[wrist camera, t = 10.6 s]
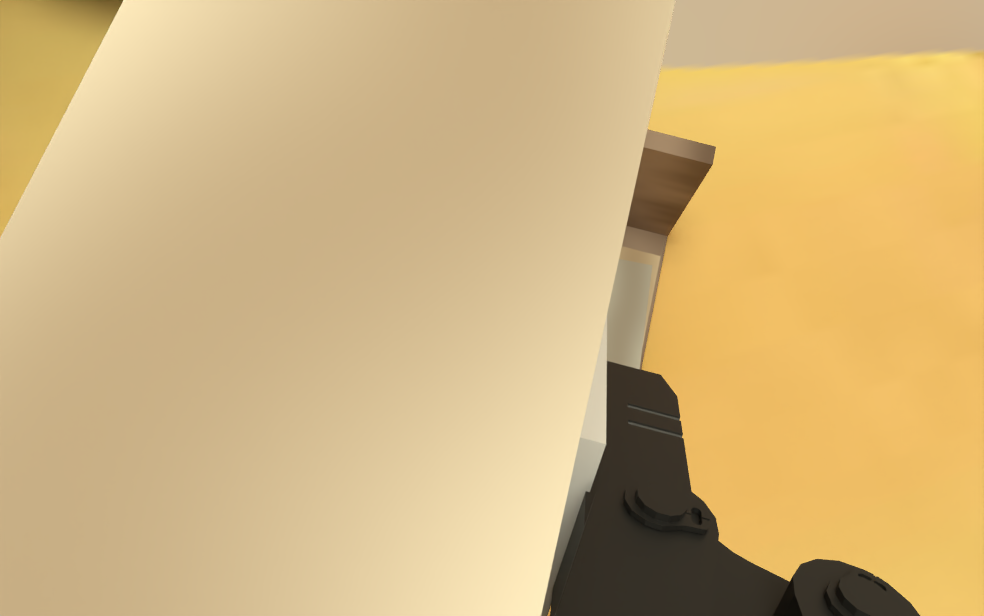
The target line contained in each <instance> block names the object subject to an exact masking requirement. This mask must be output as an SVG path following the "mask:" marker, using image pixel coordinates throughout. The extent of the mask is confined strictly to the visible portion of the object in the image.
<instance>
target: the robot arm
mask: <svg viewBox="0 0 984 616" xmlns="http://www.w3.org/2000/svg"><path fill="white" fill-rule="evenodd" d="M679 419H680V413H679V406H678V399H677V396H676V394H675V393H674V392H673V390H672V389H671V388H670V387H669V385H668V384H667V383H666V381H665V380H664V379H663V377H662V376H661V375H659V374H655V373H652V372H648V371H644V370H640V369H636V368H633V367H629V366H625V365H621V364H617V363H614V362H610V361H607V316H606V321H605V325H604V330H603V335H602V339H601V344H600V348H599V353H598V357H597V362H596V367H595V371H594V376H593V380H592V385H591V389H590V394H589V399H588V403H587V408H586V412H585V417H584V421H583V426H582V431H581V435H580V440H579V444H578V449H577V453H576V458H575V463H574V467H573V472H572V476H571V481H570V485H569V490H568V495H567V499H566V504H565V508H564V513H563V517H562V522H561V527H560V531H559V536H558V540H557V545H556V549H555V554H554V559H553V563H552V568H551V572H550V577H549V581H548V586H547V591H546V595H545V600H544V604H543V609H542V613H541V616H547V615H548V612H549V609H550V606H551V613H550V616H920V615H919V614H918V612H917V611H916V610H915V608H914V607H913V606H912V604H911V603H910V602H909V601H908V600H906V599H905V598H904V597H903V596H902V595H901V594H900V593H898V592H897V591H896V590H895V589H894V588H893V587H891V586H890V585H889V584H888V583H886V582H885V581H883V580H882V579H880V578H879V577H875V576H874V575H873V574H871V573H869V572H867V571H865V570H863V569H860V568H858V567H855V566H852V565H849V564H846V563H843V562H840V561H834V560H822V559H815V560H812V561H809V562H806V563H803V564H801V565H800V566H799V568H798V569H797V571H796V572H795V574H794V575H793V577H792V579H791V581H790V582H789V581H787V580H785V579H783V578H781V577H779V576H777V575H775V574H773V573H771V572H769V571H767V570H765V569H763V568H761V567H759V566H757V565H755V564H753V563H751V562H749V561H747V560H746V559H744V558H742V557H740V556H739V555H737V554H735V553H733V552H732V551H731V550H729V549H728V548H727V547H726V546H724V545H723V544H722V543H720V542H719V541H718V537H719V532H718V527H717V523H716V518H715V516H714V515H713V514H712V512H711V511H710V510H709V508H708V507H707V505H706V504H705V503H704V501H702V500H701V499H700V498H699V497H697V496H696V495H695V494H694V493H692V492H691V486H690V479H689V473H688V466H687V459H686V453H685V446H684V439H683V438H682V435H683V433H682V426H681V421H679Z"/></svg>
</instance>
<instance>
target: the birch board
mask: <svg viewBox="0 0 984 616" xmlns="http://www.w3.org/2000/svg"><path fill="white" fill-rule="evenodd" d="M674 6H675V0H123V2H122V4H121V6H120V8H119V10H118V12H117V14H116V16H115V18H114V20H113V22H112V23H111V25H110V27H109V29H108V31H107V33H106V35H105V37H104V39H103V41H102V43H101V45H100V47H99V48H98V50H97V52H96V54H95V56H94V58H93V60H92V62H91V64H90V66H89V68H88V70H87V72H86V74H85V75H84V77H83V79H82V81H81V83H80V85H79V87H78V89H77V91H76V93H75V95H74V97H73V99H72V101H71V102H70V104H69V106H68V108H67V110H66V112H65V114H64V116H63V118H62V120H61V122H60V124H59V126H58V128H57V129H56V131H55V133H54V135H53V137H52V139H51V141H50V143H49V145H48V147H47V149H46V151H45V153H44V155H43V156H42V158H41V160H40V162H39V164H38V166H37V168H36V170H35V172H34V174H33V176H32V178H31V180H30V181H29V183H28V185H27V187H26V189H25V191H24V193H23V195H22V197H21V199H20V201H19V203H18V205H17V207H16V208H15V210H14V212H13V214H12V216H11V218H10V220H9V222H8V224H7V226H6V228H5V230H4V232H3V234H2V235H1V237H0V616H541V613H542V609H543V604H544V600H545V595H546V591H547V586H548V581H549V577H550V572H551V568H552V563H553V559H554V554H555V549H556V545H557V540H558V536H559V531H560V527H561V522H562V517H563V513H564V508H565V504H566V499H567V495H568V490H569V485H570V481H571V476H572V472H573V467H574V463H575V458H576V453H577V449H578V444H579V440H580V435H581V431H582V426H583V421H584V417H585V412H586V408H587V403H588V399H589V394H590V389H591V385H592V380H593V376H594V371H595V367H596V362H597V357H598V353H599V348H600V344H601V339H602V335H603V330H604V325H605V321H606V316H607V312H608V307H609V303H610V298H611V293H612V289H613V284H614V280H615V275H616V271H617V266H618V261H619V257H620V252H621V248H622V243H623V239H624V234H625V229H626V225H627V220H628V216H629V211H630V207H631V202H632V198H633V193H634V188H635V184H636V179H637V175H638V170H639V166H640V161H641V156H642V152H643V147H644V143H645V138H646V134H647V129H648V124H649V120H650V115H651V111H652V106H653V102H654V97H655V92H656V88H657V83H658V79H659V74H660V70H661V65H662V60H663V56H664V51H665V47H666V42H667V37H668V33H669V28H670V24H671V19H672V15H673V10H674Z"/></svg>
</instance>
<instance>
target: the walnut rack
mask: <svg viewBox="0 0 984 616" xmlns="http://www.w3.org/2000/svg"><path fill="white" fill-rule="evenodd" d="M715 148H716V147H714V146H710V145H706V144H703V143H699V142H695V141H691V140H687V139H683V138H679V137H675V136H671V135H667V134H663V133H659V132H655V131H651V130H648V129H647V134H646V138H645V143H644V147H643V152H642V156H641V161H640V166H639V170H638V175H637V179H636V184H635V188H634V193H633V198H632V202H631V207H630V211H629V216H628V220H627V225H626V229H625V234H624V239H623V243H622V246H623V247H627V248H631V249H634V250H638V251H642V252H646V253H650V254H654V255H658V256H661V257H660V262H659V267H658V272H657V277H656V282H655V287H654V292H653V297H652V302H651V307H650V312H649V317H648V322H647V327H646V332H645V337H644V342H643V347H642V354H641V362H640V370H641V367H642V362H643V357H644V352H645V347H646V342H647V337H648V332H649V327H650V322H651V317H652V312H653V307H654V301H655V296H656V291H657V286H658V281H659V276H660V271H661V266H662V261H663V256H664V251H665V246H666V241H667V236H668V235H669V233H670V231H671V230H672V228H673V227H674V225H675V223H676V222H677V220H678V219H679V217H680V216H681V214H682V212H683V211H684V209H685V208H686V206H687V204H688V203H689V201H690V200H691V198H692V196H693V195H694V193H695V192H696V190H697V189H698V187H699V185H700V184H701V182H702V181H703V179H704V177H705V176H706V174H707V173H708V171H709V169H710V168H711V166H712V165H713V159H714V154H715Z"/></svg>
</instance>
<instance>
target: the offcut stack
mask: <svg viewBox="0 0 984 616" xmlns="http://www.w3.org/2000/svg"><path fill="white" fill-rule="evenodd" d="M660 257H661V256H658V255H654V254H650V253H646V252H642V251H638V250H634V249H631V248H627V247H623V246H622V248H621V252H620V257H619V261H618V266H617V271H616V275H615V280H614V284H613V289H612V293H611V298H610V303H609V307H608V312H607V361H610V362H614V363H617V364H621V365H625V366H629V367H633V368H636V369H640V362H641V354H642V347H643V342H644V337H645V332H646V327H647V322H648V317H649V312H650V307H651V302H652V297H653V292H654V287H655V282H656V277H657V272H658V267H659V262H660Z"/></svg>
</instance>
